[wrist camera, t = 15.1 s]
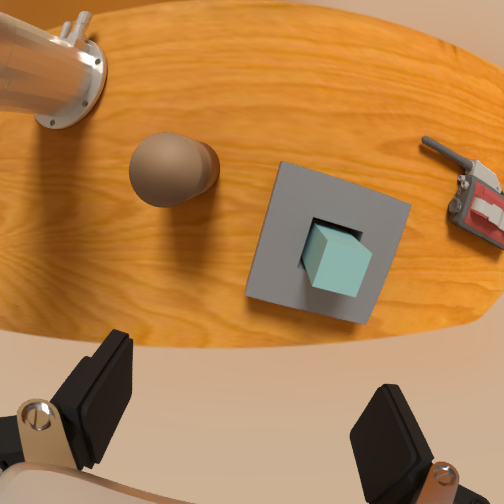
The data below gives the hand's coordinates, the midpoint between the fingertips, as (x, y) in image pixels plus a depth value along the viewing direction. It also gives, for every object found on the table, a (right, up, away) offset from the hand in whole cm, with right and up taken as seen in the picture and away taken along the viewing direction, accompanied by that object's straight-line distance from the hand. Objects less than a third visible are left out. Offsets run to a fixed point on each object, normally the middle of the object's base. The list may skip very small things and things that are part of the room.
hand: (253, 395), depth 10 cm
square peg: (+8, +6, +24) cm, 26 cm away
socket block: (+8, +6, +24) cm, 26 cm away
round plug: (-6, +14, +22) cm, 27 cm away
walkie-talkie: (+28, +12, +22) cm, 37 cm away
